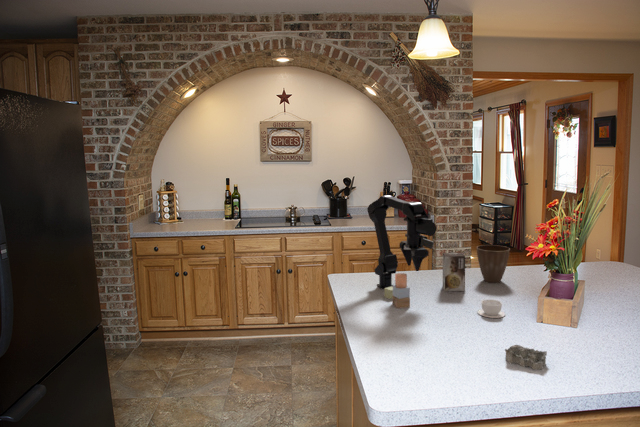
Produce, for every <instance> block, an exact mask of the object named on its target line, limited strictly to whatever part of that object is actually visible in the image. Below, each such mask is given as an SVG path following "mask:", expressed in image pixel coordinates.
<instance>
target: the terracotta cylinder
mask: <svg viewBox="0 0 640 427" xmlns="http://www.w3.org/2000/svg"><path fill="white" fill-rule="evenodd" d="M394 274H395V277H394V278H395V280H394V284H395V285H394V286H395V287H396V288H406V287H407V286H408V275H407V273H402V272H398V273H394Z"/></svg>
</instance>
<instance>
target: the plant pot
mask: <svg viewBox="0 0 640 427" xmlns="http://www.w3.org/2000/svg"><path fill="white" fill-rule="evenodd" d="M510 251H511V248H510V247H508V246H504V245H497V244H496V245H495V244H483V245H482V244H481V245H477V246H476V255H477V261H478V266H479V268H480V272H481V275H482V278H483V281H485V282H486V283H493V284H494V283H495V284H496V283H500V282H501V281H502V279H503V276H504V275H505V271H506V269H507V266H508V262H509V258H510Z"/></svg>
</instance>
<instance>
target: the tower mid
mask: <svg viewBox="0 0 640 427" xmlns="http://www.w3.org/2000/svg"><path fill="white" fill-rule="evenodd" d="M410 290H411V288H410V287H409V286H408V285H407V287H406V288H396V287H395V285H393V296H395V297H397V298H398V299H401V298H408V297H411V296H410V295H411V291H410Z"/></svg>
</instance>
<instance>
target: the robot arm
mask: <svg viewBox="0 0 640 427" xmlns="http://www.w3.org/2000/svg"><path fill="white" fill-rule="evenodd" d="M390 208H393V209H396V210H399V211H401V212H402V214H403V215H405V216H406V217H404V218H403V221H405V222H406V233H405V235H404V236H405V237H406V240H401V241H400V242H399V248H400V250H401V252H402V255H403V257H404V259H405V262H406V264H407V266H411V264H412V263H413V266H414V270H415V272H419V271H420V268H421V265H422V262H423V260H424V259H426V258H427V257H429V256H430V251H429V250H432V249H433V247H434V245H435V244H434V243H435V241H433V240H430V239H428V236H429V237H432V236H434V235H435V234H436V232H437V225H436V224H435V223H434V220H433V218H429V216H428V214H427V211H426V210H425V207H424V206H423V204H422V202H419V201H406V200H403V199H400V198H397V197H395V196H392V195H389V194H386V195H381V196H380V197H378V199H376V200H374V201H372V202H371V203H370V204H369V205H368V207H367V214H368V217H369V219H370V220H371V221H372V222H373V224H374V230H375V234H376V240H377V243H378V244H377V245H378V250H379V256H378V258H377V259H378V260H377V262H378V265H377V266H376V267H375V268H374V273H375V275H377V276H378V278H379V279H378V281H379V282H378V283H377V284H376V286H377V287H378V288H379V289H381V290H382V289H384V288H387V287H393V286H394V285H393V284H392V283H393V279H392V277H393V276H392V275H394V274H397V273H396V272H397V270H398V268H399V265H398V264H399V261H398V257H397V254H393V252H392V250H391V246H390V241H389V237H388V236H389V235H388V230H387V226H386V218H387V213H388V212H387V211H388V209H390ZM426 248H428V249H429V250H428V249H426Z"/></svg>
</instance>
